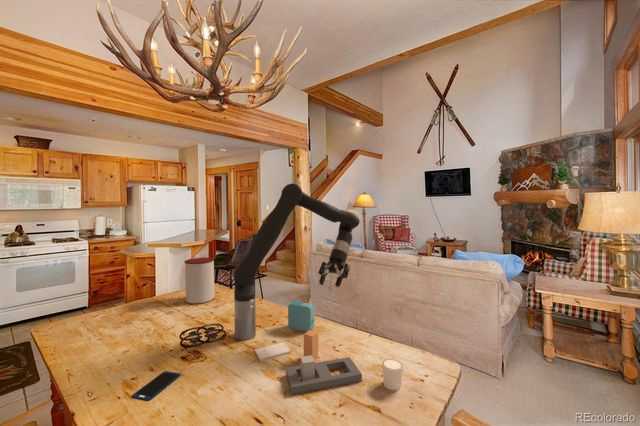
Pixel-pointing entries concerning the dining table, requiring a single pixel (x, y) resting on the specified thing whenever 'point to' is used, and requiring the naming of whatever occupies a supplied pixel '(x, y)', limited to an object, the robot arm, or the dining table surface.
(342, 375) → the grey block holder
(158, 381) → the cell phone
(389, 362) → the shot glass
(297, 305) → the data package
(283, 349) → the external hard drive
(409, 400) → the dining table surface
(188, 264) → the container
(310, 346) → the plug
